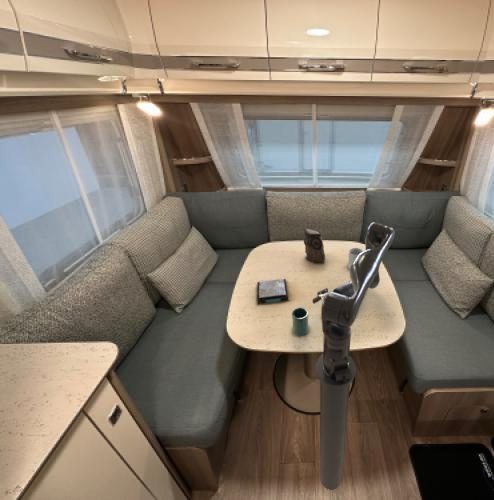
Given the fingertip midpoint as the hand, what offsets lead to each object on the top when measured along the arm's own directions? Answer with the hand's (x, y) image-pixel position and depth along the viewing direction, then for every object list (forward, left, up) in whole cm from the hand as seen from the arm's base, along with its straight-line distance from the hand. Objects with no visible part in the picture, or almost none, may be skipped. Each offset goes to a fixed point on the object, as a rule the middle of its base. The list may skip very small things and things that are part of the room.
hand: (318, 307), depth 118 cm
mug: (+35, -29, -8) cm, 46 cm away
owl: (+51, -9, -8) cm, 53 cm away
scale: (+23, +20, -7) cm, 32 cm away
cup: (-5, +9, -7) cm, 13 cm away
